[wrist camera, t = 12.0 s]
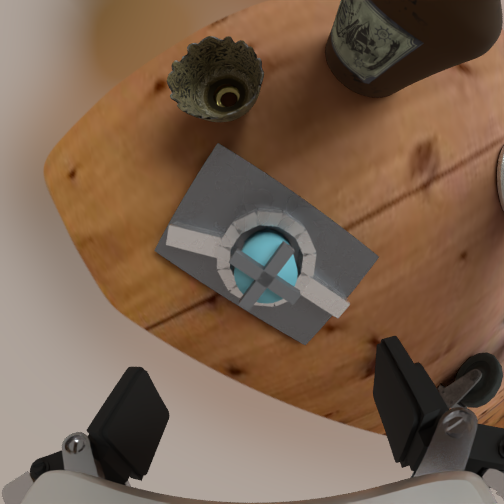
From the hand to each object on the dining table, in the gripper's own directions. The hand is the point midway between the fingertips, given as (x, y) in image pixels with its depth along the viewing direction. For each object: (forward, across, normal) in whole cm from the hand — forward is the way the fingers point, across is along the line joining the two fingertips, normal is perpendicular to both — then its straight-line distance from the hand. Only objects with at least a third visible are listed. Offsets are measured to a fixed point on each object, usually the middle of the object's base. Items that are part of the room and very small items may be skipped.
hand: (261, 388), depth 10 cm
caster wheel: (+20, -28, +28) cm, 45 cm away
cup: (+20, +1, -16) cm, 26 cm away
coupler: (+18, 0, 0) cm, 18 cm away
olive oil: (+20, -14, -19) cm, 31 cm away
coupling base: (+20, 0, 0) cm, 20 cm away
